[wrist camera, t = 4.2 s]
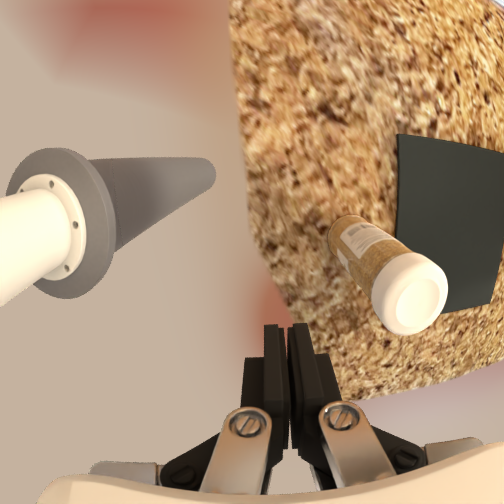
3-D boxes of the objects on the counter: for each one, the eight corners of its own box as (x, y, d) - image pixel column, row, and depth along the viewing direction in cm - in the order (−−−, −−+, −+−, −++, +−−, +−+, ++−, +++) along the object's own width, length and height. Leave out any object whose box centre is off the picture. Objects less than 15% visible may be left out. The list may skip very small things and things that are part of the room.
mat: (383, 321, 29) (384, 323, 28) (396, 133, 23) (398, 133, 22) (488, 302, 28) (490, 303, 28) (507, 155, 22) (509, 155, 22)
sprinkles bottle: (325, 259, 27) (374, 342, 14) (328, 212, 25) (390, 264, 12) (368, 259, 27) (438, 333, 14) (373, 213, 25) (458, 263, 12)
